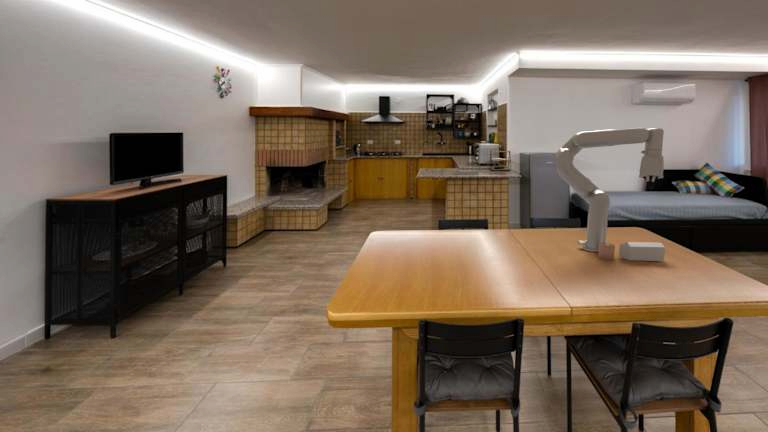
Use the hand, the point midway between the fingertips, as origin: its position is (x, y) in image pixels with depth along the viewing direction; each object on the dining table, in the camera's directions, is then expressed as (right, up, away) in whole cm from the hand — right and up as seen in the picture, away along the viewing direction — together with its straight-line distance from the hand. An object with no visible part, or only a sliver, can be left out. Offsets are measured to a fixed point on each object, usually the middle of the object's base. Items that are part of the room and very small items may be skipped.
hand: (649, 189), depth 229 cm
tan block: (-25, -35, -6) cm, 43 cm away
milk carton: (-1, -31, -12) cm, 33 cm away
